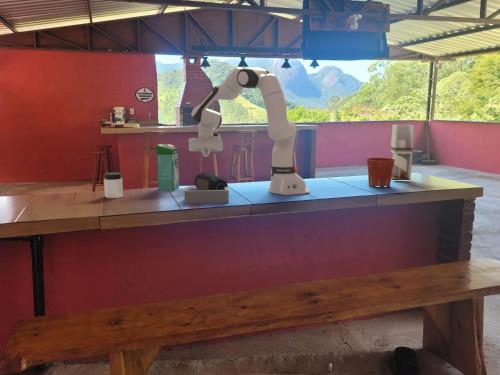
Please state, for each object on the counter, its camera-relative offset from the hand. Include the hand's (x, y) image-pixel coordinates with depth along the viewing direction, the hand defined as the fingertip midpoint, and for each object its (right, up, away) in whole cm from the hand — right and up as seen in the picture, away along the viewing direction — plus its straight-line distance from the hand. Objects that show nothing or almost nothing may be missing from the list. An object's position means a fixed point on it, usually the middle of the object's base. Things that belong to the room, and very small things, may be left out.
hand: (206, 155), depth 249 cm
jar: (-44, -23, -31) cm, 59 cm away
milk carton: (-20, -20, -10) cm, 30 cm away
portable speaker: (+4, -22, -20) cm, 30 cm away
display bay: (+4, -25, -39) cm, 47 cm away
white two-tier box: (+121, -14, +24) cm, 124 cm away
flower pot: (+102, -18, +4) cm, 104 cm away
